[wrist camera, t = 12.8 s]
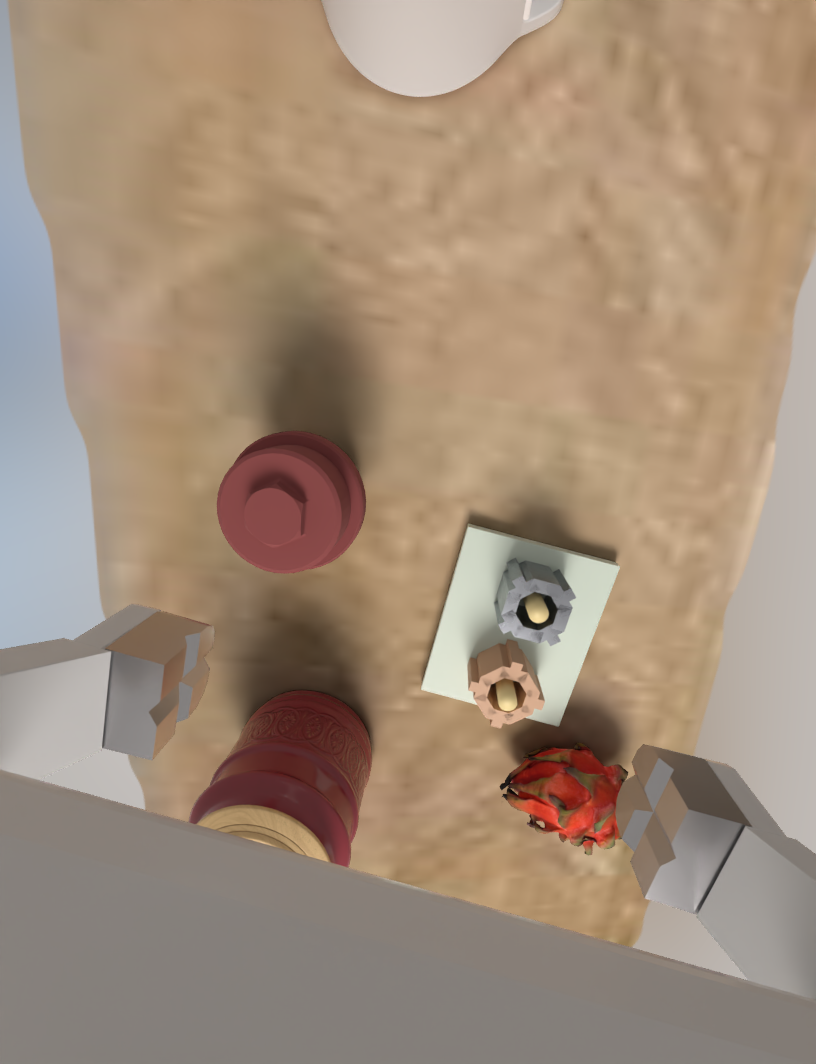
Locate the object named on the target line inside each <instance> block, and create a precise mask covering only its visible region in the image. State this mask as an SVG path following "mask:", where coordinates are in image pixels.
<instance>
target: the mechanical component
mask: <svg viewBox="0 0 816 1064" xmlns="http://www.w3.org/2000/svg"><path fill="white" fill-rule="evenodd" d="M365 510H366V497H365V489H364V485H363V481H362V479H361V477H360V474H359V472H358V470H357V468H356V467H355V465H354V463H353V462H352V461H351V459H350V458H349V457H348V455H347V454H346V453H345V452H344V451H343V450H342V449H340V448H339V447H338V446H337V445H335V444H334V443H332V442H331V441H329V440H327V439H325V438H323V437H321V436H318V435H316V434H313V433H308V432H302V431H287V432H280V433H275V434H271V435H268V436H265V437H263V438H261V439H259V440H257V441H255V442H254V443H252V444H251V445H250V446H248V447H247V448H246V449H245V450H244V451H243V452H242V453H241V454H240V456H239V457H238V458H237V460H236V461H235V463H234V465H233V466H232V467H231V468H230V469H229V471H228V472H227V473H226V475H225V476H224V479H223V481H222V483H221V485H220V489H219V492H218V498H217V514H218V519H219V524H220V526H221V529H222V532H223V534H224V536H225V538H226V539H227V541H228V543H229V544H230V545H231V547H232V548H233V549H234V550H235V551H236V552H237V553H238V554H239V555H240V556H241V557H242V558H243V559H245V560H246V561H247V562H249V563H250V564H252V565H254V566H256V567H258V568H260V569H263V570H265V571H270V572H274V573H295V572H299V571H303V570H306V569H313V568H317V567H320V566H323V565H326V564H328V563H330V562H332V561H333V560H335V559H336V558H338V557H339V556H340V555H341V554H343V553H344V552H345V551H346V550H347V548H348V547H349V546H350V545H351V544H352V542H353V541H354V539H355V538H356V536H357V535H358V533H359V531H360V529H361V526H362V523H363V520H364V516H365Z"/></svg>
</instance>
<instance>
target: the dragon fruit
mask: <svg viewBox="0 0 816 1064" xmlns="http://www.w3.org/2000/svg"><path fill="white" fill-rule="evenodd" d="M574 749H575V750H574ZM574 749H557V748H554V747H552V748H548V749H547V748H546V747H543V748H541V749H539V750H535V751H533V752H531V753H528V754H526V756H524V758H528V759H526V760H525V761H524V762H523V764H522V765H520V766H519V767H518V768H517V769H515V770H514V771H512V772H511V773H510V774H509V775H508V777H507V778H506V780H505V783H502V784H501V785H500V789H501V790H503V789H504V788H505V787H506V786H508V785H509V786H508V787H509V788H508V789H507V794H503V796H504V798H505V799H506V800H507V801H508V802H509V804H510V805H511V806H512V807H514V808H516V809H517V810H520V811H524V812H526V813H528V814H530V818H531V820H530V823H527V825H529V826H530V827H533V828H535V830H536V831H537V832H539V833H543V834H545V833H549V832H559V838H560V840H561V841H562V842H564V841H566V840H568V839H570V842H571V844H572V845H574V846H580V845H582V844H583V846H584V848H585V854H587V855H592V846H593V843H594V842H596V843H597V845H598V846H599V847H600V848H602V849H610V848H612V847H613V846H614V845H615V840H617V839H622V838H621V835H620V833H619V830H618V827H617V821H616V814H615V812H616V802H617V796H618V793H619V791H620V788H621V786H622V783H623V782H624V781H625V779H626V778H627V776H628V772H627V771H626V770H625V769H623V768H622V766H621V765H614V766H613V765H612V766H610V767H605V766H603V765H602V764H601V763H600V762H599V761H598V760H597V758H596V757H595V756H594V755H593V752H592V751H591V750H590V749H589V748H588V747H586V746H585V745H584V744H583V743H576V745H575V747H574ZM511 781H512V783H510V782H511ZM510 788H512V789H514V791H516V792H518V795H517V794H516V793H515V792H513V791H512V790H511V789H510ZM503 796H502V797H503ZM536 821H542V822H544V823H545V828H542V827H540V825H538V824H537V823H536Z"/></svg>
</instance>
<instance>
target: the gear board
mask: <svg viewBox="0 0 816 1064" xmlns="http://www.w3.org/2000/svg"><path fill="white" fill-rule="evenodd" d="M514 558H516V559H517V561H518V562H519V563H521V562H523V561H525V560H526V561H530V562H534V563H538V564H542V565H545V566H549V567H550V568H551V570H552V572H554V571H556V570H558V569H559V570H560V571H561V573H562V574H563V576H564V578H565V579H566V581H567V582H568V584H569V586H570V587H571V589H572V591H573V593H574V594H575V596H576V598H575V599H573V600H571V601H569V602H570V604H571V605H572V607H573V609H572V611H571V614H570V617H569V620H568V623H567V625H566V628H565V631H564V632H563V633H561V634H559V635H558V636H559V638H560V640H561V642H558V643H556V644H554V645H552V646H550V645H549V643H548V642H547V640H546V641H544V642H542V643H536V642H532V641H528V640H525V639H521V638H517V637H514V636H513V634H512V632H511V631H509V632H507V633H505V634H503V632H502V631H501V629H500V627H499V626H498V622H497V617H496V612H495V606H494V602H496V601H498V598H497V591H498V588H499V585H500V581H501V578H502V575H503V572H504V571H506V570H508V567H507V564H506V563H507V562H508V561H510V560H512V559H514ZM619 568H620V566H619V565H618V564H617V563H616V562H613V561H609V560H605V559H602V558H598V557H594V556H590V555H586V554H582V553H579V552H575V551H571V550H567V549H563V548H560V547H556V546H552V545H548V544H544V543H541V542H537V541H533V540H529V539H525V538H522V537H518V536H514V535H510V534H506V533H502V532H499V531H495V530H491V529H487V528H483V527H480V526H476V525H472V524H468V525H467V528H466V532H465V535H464V539H463V542H462V545H461V549H460V552H459V556H458V559H457V563H456V566H455V570H454V573H453V577H452V580H451V584H450V587H449V590H448V594H447V597H446V601H445V604H444V608H443V611H442V615H441V618H440V622H439V625H438V628H437V632H436V635H435V639H434V642H433V646H432V649H431V653H430V656H429V660H428V663H427V666H426V670H425V673H424V677H423V680H422V686H421V690H425V691H428V692H432V693H436V694H440V695H443V696H447V697H451V698H454V699H458V700H462V701H465V702H469V703H473V704H476V705H478V706H479V708H480V710H481V711H482V713H483V714H484V716H485V718H488V719H490V725H491V726H493V727H497V728H501V727H502V724H503V723H506V724H512V723H514V722H517V721H519V720H521V719H523V718H528V719H532V720H535V721H539V722H543V723H547V724H550V725H554V726H558V727H559V724H560V722H561V719H562V716H563V714H564V711H565V709H566V706H567V703H568V701H569V698H570V696H571V693H572V690H573V688H574V685H575V683H576V680H577V677H578V675H579V672H580V670H581V667H582V664H583V662H584V659H585V657H586V654H587V651H588V649H589V646H590V644H591V641H592V638H593V636H594V633H595V631H596V628H597V625H598V623H599V620H600V618H601V615H602V612H603V610H604V607H605V605H606V602H607V599H608V597H609V594H610V592H611V589H612V586H613V584H614V581H615V579H616V576H617V573H618V571H619ZM544 598H545V594H541V593H537V592H534V593H532V594H530V595H528V596H526V597H524V598H522V599H520V601H519V604H518V605H521V606H525V607H526V609H527V612H528V615H529V618H530V619H531V620H532V621H533V622H535V623H542V622H544V621H546V620H547V618H548V616H549V611H548V609H547V607H546V604H545V602H544Z"/></svg>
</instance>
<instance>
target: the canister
mask: <svg viewBox="0 0 816 1064" xmlns="http://www.w3.org/2000/svg"><path fill="white" fill-rule="evenodd" d="M371 765H372V754H371V742H370V738H369V734H368V732H367V729H366V727H365V725H364V724H363V722H362V721H361V719H360V718H359V717H358V715H357V714H356V713H355V712H354V711H353V710H352V709H351V708H350V707H348V706H347V705H346V704H344V703H343V702H341V701H340V700H338V699H336V698H334V697H332V696H330V695H327V694H324V693H320V692H316V691H308V690H298V691H290V692H286V693H283V694H280V695H278V696H275V697H274V698H272V699H270V700H269V701H267V702H266V703H265V704H264V705H263V706H262V707H260V708H259V709H258V710H257V711H256V712H255V713H254V714H253V715H252V716H251V717H250V719H249V720H248V722H247V723H246V725H245V726H244V728H243V730H242V732H241V735H240V738H239V739H238V741H237V743H236V744H235V746H234V747H233V749H232V750H231V752H230V754H229V755H228V757H227V758H226V760H224V762H223V763H222V764H221V765H220V766H219V767H218V769H217V770H216V772H215V774H214V776H213V778H212V780H211V783H210V786H209V787H208V788H207V789H206V790H205V791H204V792H203V793H202V794H201V795H200V797H199V798H198V799H197V801H196V802H195V804H194V806H193V808H192V811H191V813H190V817H189V823H193V824H196V825H200V826H203V827H207V828H210V829H214V830H217V831H221V832H224V833H228V834H231V835H235V836H239V837H242V838H246V839H249V840H253V841H256V842H260V843H263V844H267V845H270V846H274V847H277V848H281V849H284V850H288V851H292V852H295V853H299V854H302V855H306V856H309V857H313V858H316V859H320V860H323V861H327V862H330V863H334V864H337V865H341V866H345V867H349V864H350V858H351V843H352V841H353V839H354V837H355V834H356V831H357V827H358V819H359V810H360V806H361V801H362V797H363V793H364V789H365V787H366V785H367V782H368V780H369V776H370V771H371Z"/></svg>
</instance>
